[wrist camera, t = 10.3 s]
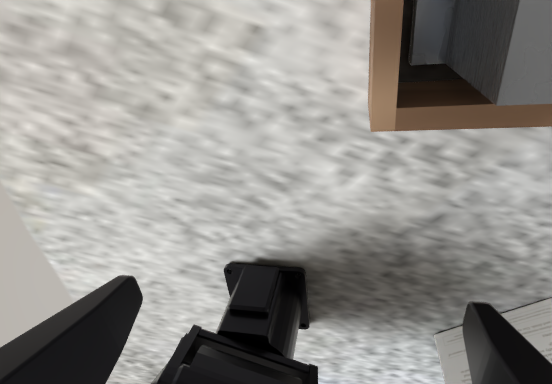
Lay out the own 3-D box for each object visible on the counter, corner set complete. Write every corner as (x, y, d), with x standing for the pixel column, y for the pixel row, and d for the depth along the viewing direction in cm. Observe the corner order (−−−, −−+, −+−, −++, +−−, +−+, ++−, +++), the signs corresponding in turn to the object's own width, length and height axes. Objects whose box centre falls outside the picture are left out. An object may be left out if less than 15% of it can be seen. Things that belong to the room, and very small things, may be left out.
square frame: (557, 93, 17) (615, 124, 13) (368, 103, 19) (370, 131, 15) (631, -156, 12) (752, -220, 9) (374, -109, 14) (379, -143, 11)
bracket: (518, 53, 16) (638, 100, 9) (408, 60, 17) (441, 107, 10) (549, -78, 14) (743, -145, 7) (418, -59, 15) (471, -101, 8)
